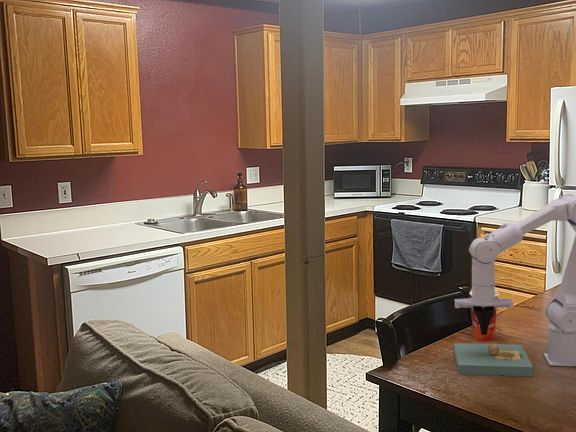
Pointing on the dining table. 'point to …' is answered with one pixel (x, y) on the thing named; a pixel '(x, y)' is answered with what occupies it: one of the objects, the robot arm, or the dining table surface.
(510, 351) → the hole board
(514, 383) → the dining table surface
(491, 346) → the maple ball
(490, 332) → the coffee cup
